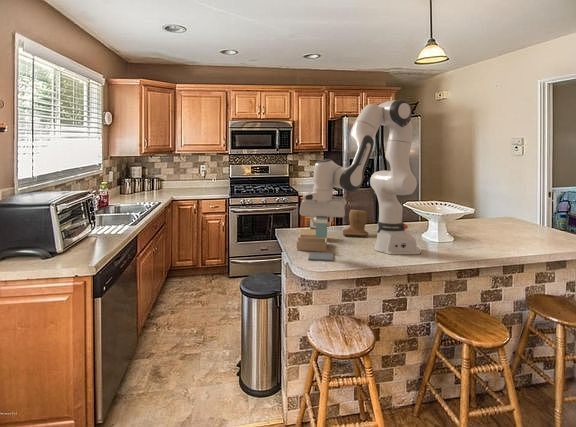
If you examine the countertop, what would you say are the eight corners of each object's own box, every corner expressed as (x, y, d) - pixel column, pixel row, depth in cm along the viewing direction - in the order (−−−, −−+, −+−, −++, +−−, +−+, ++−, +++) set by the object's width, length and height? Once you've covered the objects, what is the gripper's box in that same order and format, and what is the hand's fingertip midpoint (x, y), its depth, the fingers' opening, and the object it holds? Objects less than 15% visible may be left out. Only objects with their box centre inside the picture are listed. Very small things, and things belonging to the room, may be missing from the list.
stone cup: (366, 233, 230) (367, 208, 227) (369, 237, 218) (370, 211, 216) (340, 232, 231) (341, 207, 228) (342, 237, 219) (343, 211, 216)
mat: (333, 254, 183) (333, 252, 183) (333, 261, 172) (333, 259, 172) (309, 253, 184) (309, 251, 184) (308, 260, 174) (308, 258, 174)
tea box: (327, 234, 179) (327, 215, 178) (326, 237, 173) (327, 218, 172) (315, 234, 180) (316, 215, 178) (315, 237, 174) (316, 217, 172)
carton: (326, 242, 205) (327, 229, 204) (326, 252, 186) (326, 238, 185) (299, 241, 207) (299, 228, 206) (296, 251, 188) (296, 237, 187)
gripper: (345, 195, 176) (344, 225, 178) (300, 194, 178) (300, 223, 180) (346, 197, 169) (344, 228, 172) (299, 195, 172) (298, 226, 174)
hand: (321, 226), depth 176 cm, fingers closed on tea box, 5 cm apart
